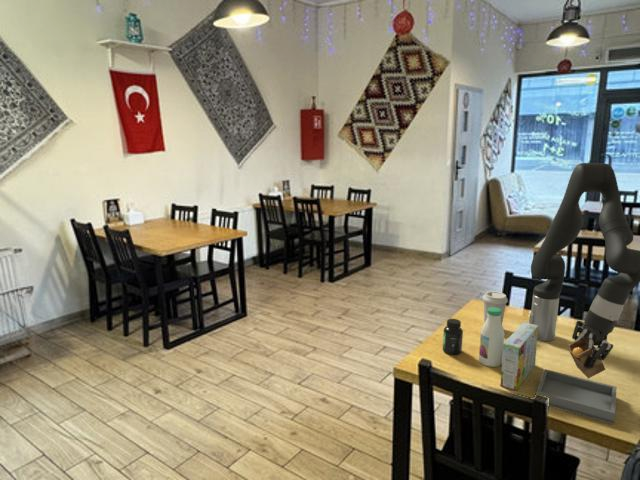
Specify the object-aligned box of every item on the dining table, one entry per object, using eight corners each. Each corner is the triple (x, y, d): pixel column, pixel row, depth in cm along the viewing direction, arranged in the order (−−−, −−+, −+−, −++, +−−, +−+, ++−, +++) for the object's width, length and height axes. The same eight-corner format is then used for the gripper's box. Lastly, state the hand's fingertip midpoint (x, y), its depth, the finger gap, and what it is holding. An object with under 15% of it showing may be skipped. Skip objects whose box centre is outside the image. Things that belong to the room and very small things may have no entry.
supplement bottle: (440, 353, 169) (442, 323, 166) (444, 345, 175) (446, 316, 172) (459, 356, 166) (462, 326, 163) (462, 349, 172) (464, 319, 169)
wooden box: (593, 358, 142) (583, 336, 139) (605, 369, 137) (595, 346, 134) (577, 367, 143) (566, 345, 139) (588, 378, 137) (577, 356, 134)
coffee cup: (484, 322, 195) (486, 289, 192) (507, 327, 190) (510, 293, 187) (477, 330, 188) (479, 295, 184) (501, 336, 182) (504, 300, 179)
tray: (535, 402, 138) (536, 391, 137) (543, 378, 151) (544, 369, 150) (613, 424, 128) (615, 413, 127) (614, 397, 140) (616, 386, 140)
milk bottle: (501, 358, 165) (506, 306, 160) (502, 369, 157) (507, 314, 153) (478, 355, 167) (482, 304, 162) (478, 365, 160) (482, 312, 155)
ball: (582, 357, 137) (576, 361, 136) (574, 349, 139) (568, 353, 137) (588, 351, 135) (582, 355, 134) (579, 344, 137) (574, 347, 135)
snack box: (518, 360, 163) (522, 321, 160) (535, 365, 160) (540, 325, 156) (498, 385, 147) (502, 342, 144) (516, 391, 144) (521, 347, 140)
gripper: (577, 299, 139) (556, 346, 145) (609, 323, 126) (584, 374, 131) (599, 303, 140) (577, 350, 146) (633, 327, 127) (607, 378, 132)
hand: (581, 361), depth 138 cm, fingers closed on wooden box, 5 cm apart
